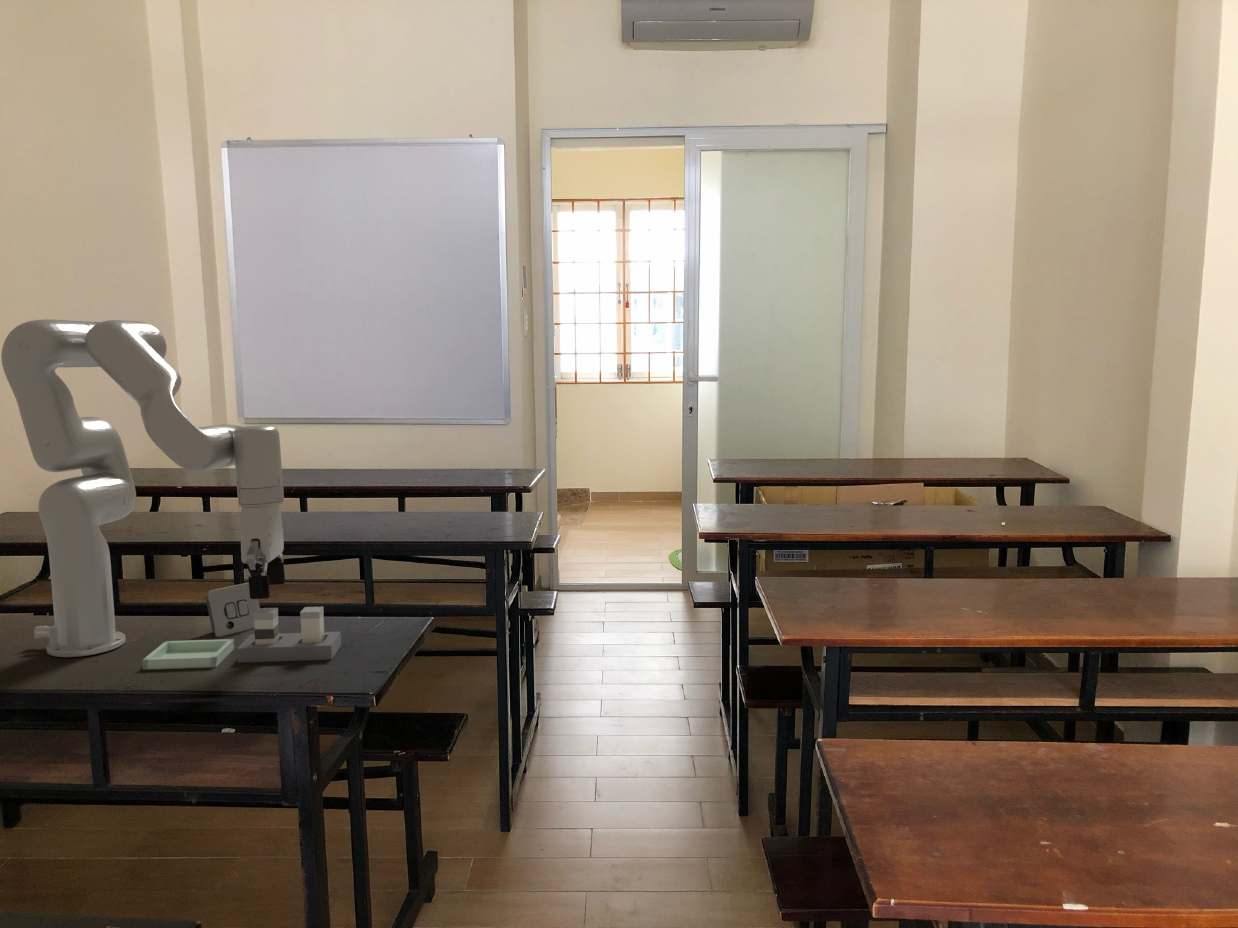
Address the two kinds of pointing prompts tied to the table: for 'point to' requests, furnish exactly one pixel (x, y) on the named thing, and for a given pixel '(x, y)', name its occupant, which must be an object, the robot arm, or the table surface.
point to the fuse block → (289, 649)
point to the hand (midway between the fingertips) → (268, 590)
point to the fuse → (312, 624)
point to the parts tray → (189, 654)
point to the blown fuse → (266, 626)
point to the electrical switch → (231, 609)
